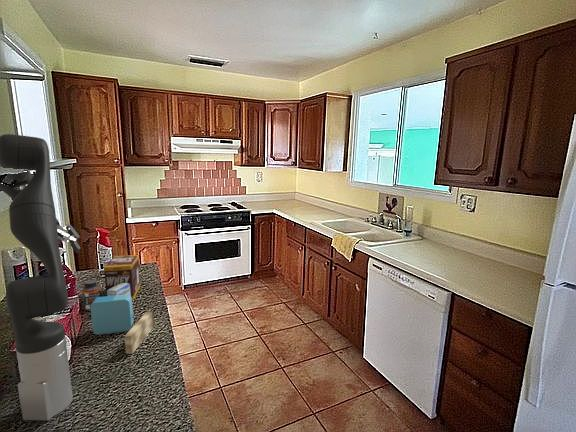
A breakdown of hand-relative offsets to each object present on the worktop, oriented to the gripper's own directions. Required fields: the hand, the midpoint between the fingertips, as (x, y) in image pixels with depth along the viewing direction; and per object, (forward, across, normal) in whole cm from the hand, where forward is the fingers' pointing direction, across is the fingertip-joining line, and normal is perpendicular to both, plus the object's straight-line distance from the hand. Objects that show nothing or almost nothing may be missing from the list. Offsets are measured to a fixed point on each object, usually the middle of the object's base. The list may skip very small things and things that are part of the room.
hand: (67, 255), depth 111 cm
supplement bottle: (+19, +9, +19) cm, 28 cm away
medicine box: (+25, +14, +12) cm, 31 cm away
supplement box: (+21, +24, +18) cm, 37 cm away
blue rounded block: (+31, -1, +1) cm, 31 cm away
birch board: (+38, -2, -10) cm, 39 cm away
